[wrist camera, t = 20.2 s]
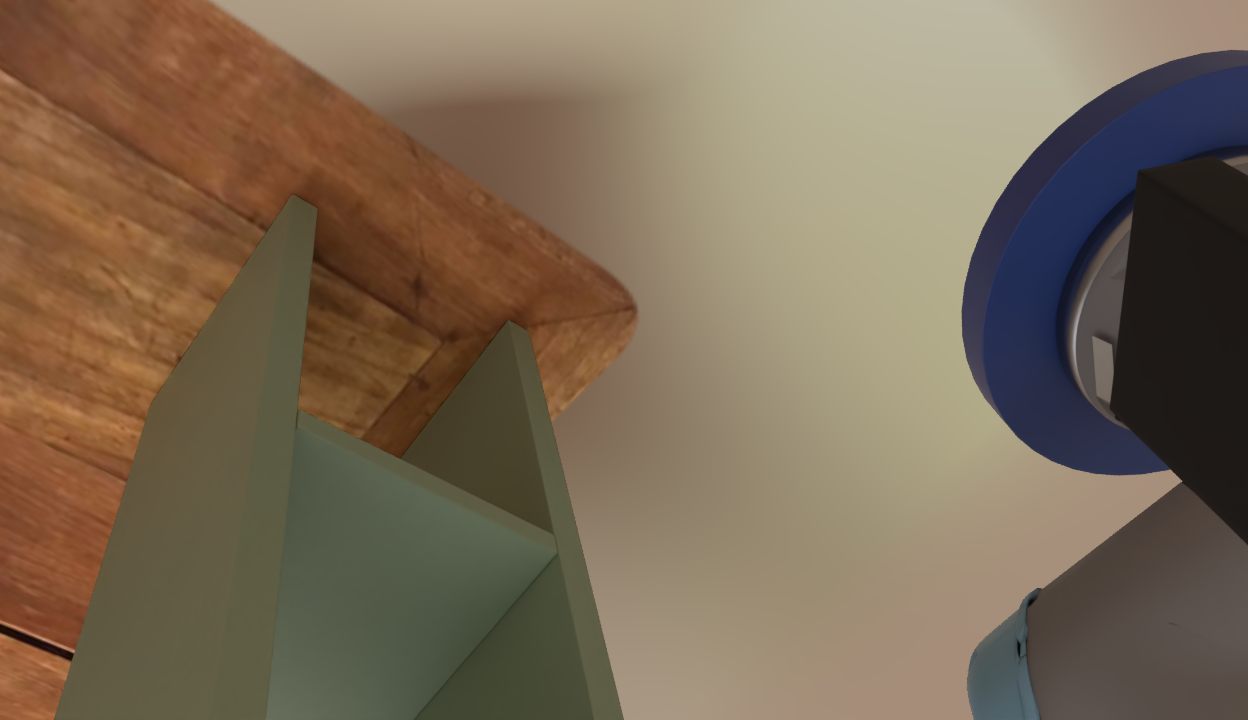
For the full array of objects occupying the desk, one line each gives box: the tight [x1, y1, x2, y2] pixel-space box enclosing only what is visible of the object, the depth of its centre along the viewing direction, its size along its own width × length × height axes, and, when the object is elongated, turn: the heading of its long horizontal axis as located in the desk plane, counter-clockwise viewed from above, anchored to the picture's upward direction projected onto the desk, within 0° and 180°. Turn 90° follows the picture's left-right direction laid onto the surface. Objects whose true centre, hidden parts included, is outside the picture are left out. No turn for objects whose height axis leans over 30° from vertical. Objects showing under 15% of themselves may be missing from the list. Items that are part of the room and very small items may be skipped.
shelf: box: [54, 195, 624, 720], centre depth 38 cm, size 12×12×32 cm
